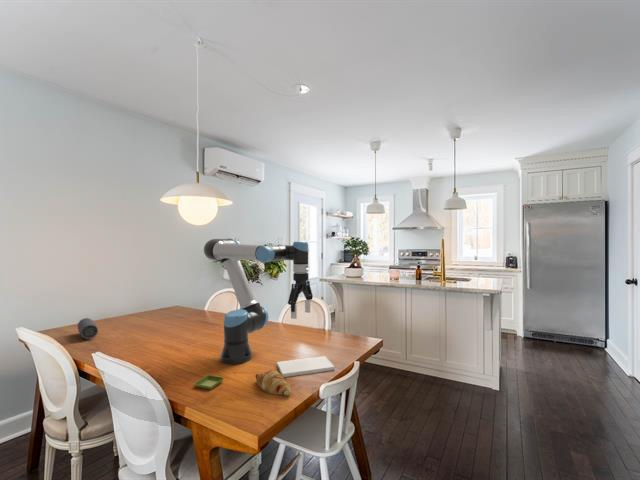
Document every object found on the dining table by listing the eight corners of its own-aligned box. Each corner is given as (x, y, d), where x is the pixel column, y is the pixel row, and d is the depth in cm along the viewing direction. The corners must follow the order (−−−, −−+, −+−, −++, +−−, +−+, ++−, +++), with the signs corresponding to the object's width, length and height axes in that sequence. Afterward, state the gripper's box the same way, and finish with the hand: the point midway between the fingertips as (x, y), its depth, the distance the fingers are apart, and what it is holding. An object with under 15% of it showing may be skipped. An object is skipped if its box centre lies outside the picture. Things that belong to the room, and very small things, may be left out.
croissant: (295, 403, 122) (302, 381, 125) (278, 400, 116) (286, 377, 118) (261, 385, 136) (268, 366, 139) (243, 382, 129) (251, 362, 132)
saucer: (210, 392, 126) (210, 386, 126) (193, 388, 129) (193, 383, 129) (224, 382, 134) (224, 377, 134) (208, 379, 137) (208, 374, 137)
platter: (282, 377, 137) (282, 373, 137) (277, 365, 151) (277, 362, 151) (334, 370, 144) (334, 366, 144) (325, 359, 158) (325, 356, 158)
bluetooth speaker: (76, 334, 205) (76, 318, 205) (94, 331, 211) (94, 316, 211) (79, 342, 188) (79, 325, 188) (99, 339, 194) (98, 322, 194)
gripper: (294, 275, 144) (294, 322, 144) (319, 270, 167) (319, 310, 167) (280, 274, 148) (280, 320, 148) (306, 269, 170) (306, 309, 170)
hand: (301, 315), depth 157 cm, fingers open, 13 cm apart
